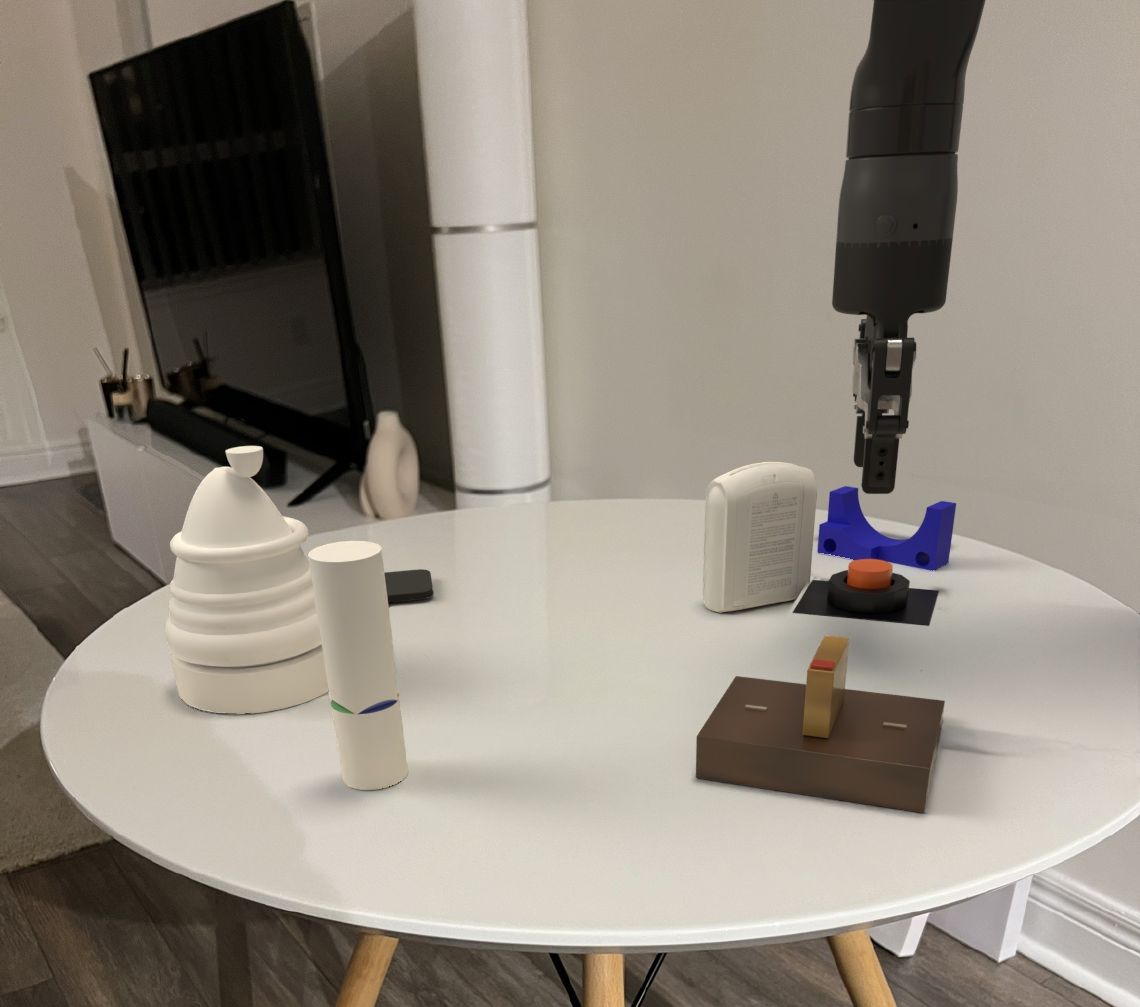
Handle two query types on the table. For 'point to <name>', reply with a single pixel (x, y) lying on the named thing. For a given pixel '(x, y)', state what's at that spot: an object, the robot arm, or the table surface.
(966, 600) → the table surface
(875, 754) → the plate
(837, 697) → the lock knob
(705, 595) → the photo printer
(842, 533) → the blue u-shaped cradle
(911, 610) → the button block
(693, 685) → the table surface
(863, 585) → the button
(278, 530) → the honey pot
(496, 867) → the table surface
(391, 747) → the tube
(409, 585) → the phone
